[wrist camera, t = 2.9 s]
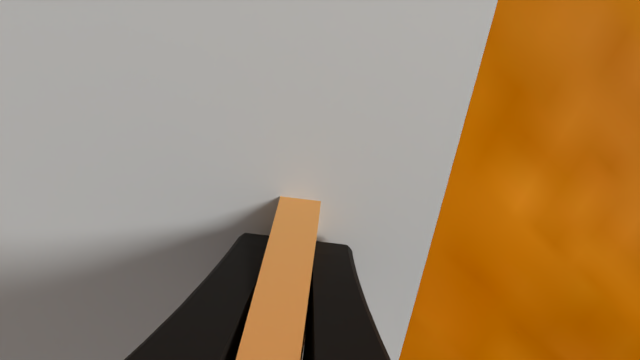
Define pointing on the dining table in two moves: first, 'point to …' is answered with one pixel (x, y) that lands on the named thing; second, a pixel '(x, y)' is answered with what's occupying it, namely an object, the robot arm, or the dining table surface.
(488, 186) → the dining table surface
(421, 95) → the carton lid
